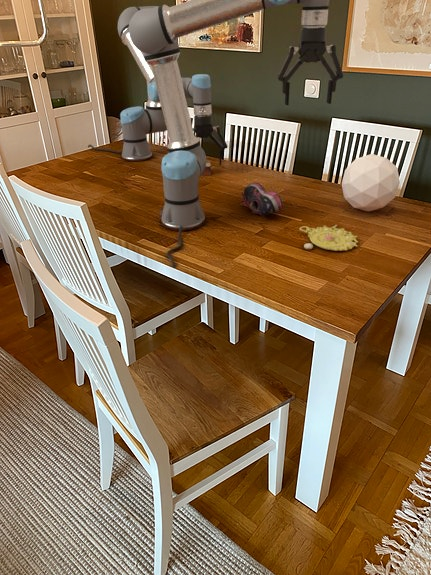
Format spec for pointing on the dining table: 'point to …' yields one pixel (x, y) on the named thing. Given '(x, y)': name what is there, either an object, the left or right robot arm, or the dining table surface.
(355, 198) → the sphere
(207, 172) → the block
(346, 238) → the decorative object
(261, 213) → the athletic shoe
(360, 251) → the dining table surface
